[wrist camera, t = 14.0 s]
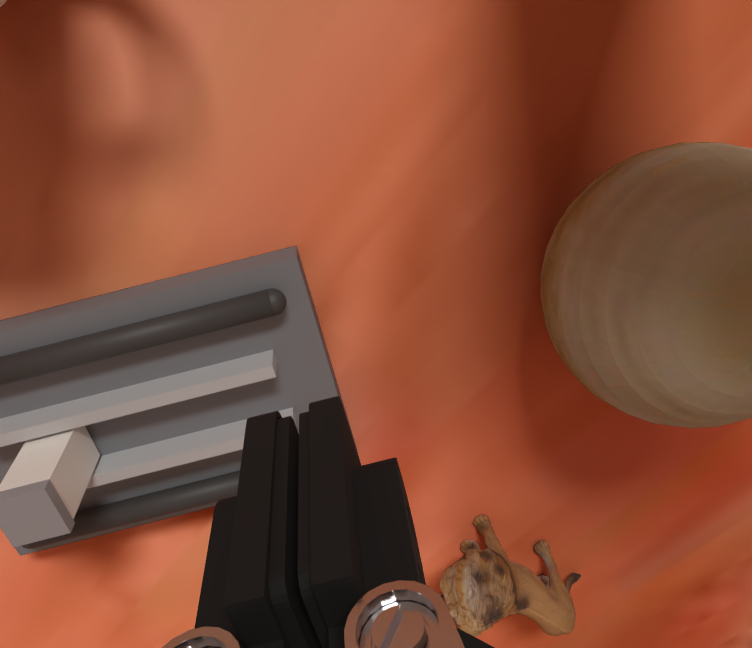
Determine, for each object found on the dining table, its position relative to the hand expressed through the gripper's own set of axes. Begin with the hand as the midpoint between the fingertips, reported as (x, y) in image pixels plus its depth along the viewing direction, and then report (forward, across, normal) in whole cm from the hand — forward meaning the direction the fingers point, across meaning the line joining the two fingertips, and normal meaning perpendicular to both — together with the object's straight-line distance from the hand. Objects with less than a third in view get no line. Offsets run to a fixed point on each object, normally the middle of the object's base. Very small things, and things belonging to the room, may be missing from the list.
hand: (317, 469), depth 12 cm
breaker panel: (+28, +14, +14) cm, 34 cm away
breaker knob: (+25, +19, +14) cm, 35 cm away
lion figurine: (+28, -6, +35) cm, 45 cm away
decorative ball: (+29, -18, +11) cm, 36 cm away
